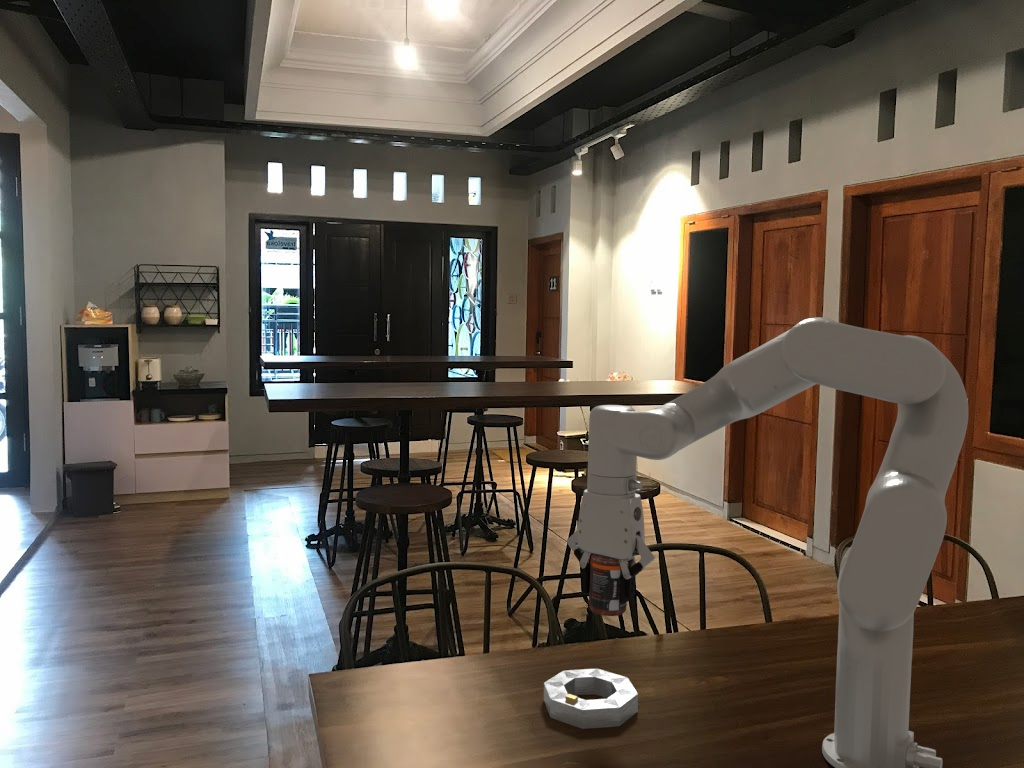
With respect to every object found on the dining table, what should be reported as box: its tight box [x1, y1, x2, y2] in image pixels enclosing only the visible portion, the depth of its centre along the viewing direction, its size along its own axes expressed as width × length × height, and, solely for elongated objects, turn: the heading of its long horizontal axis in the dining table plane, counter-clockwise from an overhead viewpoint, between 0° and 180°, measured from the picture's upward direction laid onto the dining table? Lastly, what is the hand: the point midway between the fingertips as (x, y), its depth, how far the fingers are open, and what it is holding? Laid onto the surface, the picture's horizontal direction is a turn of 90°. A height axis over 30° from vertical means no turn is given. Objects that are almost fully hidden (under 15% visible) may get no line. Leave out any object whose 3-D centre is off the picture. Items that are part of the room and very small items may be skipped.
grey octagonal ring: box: [543, 668, 639, 730], centre depth 133 cm, size 14×14×4 cm
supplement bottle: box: [588, 554, 628, 617], centre depth 132 cm, size 6×6×11 cm
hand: (607, 595), depth 132 cm, fingers closed on supplement bottle, 6 cm apart
